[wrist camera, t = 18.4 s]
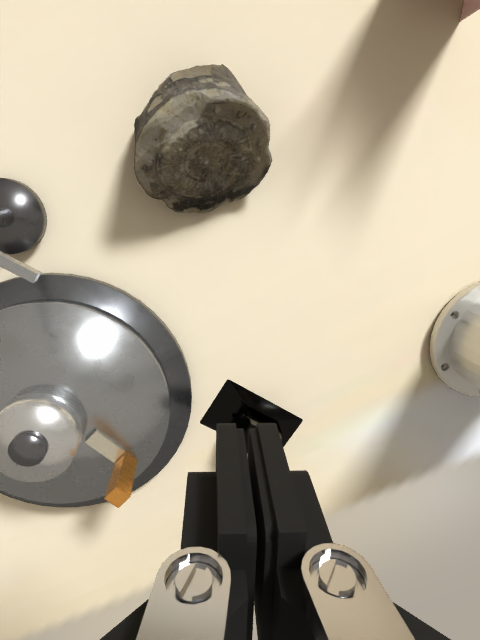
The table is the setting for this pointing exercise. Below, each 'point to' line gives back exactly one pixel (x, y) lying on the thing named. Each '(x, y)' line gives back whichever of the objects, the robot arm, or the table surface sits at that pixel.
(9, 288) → the base
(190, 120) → the fossil
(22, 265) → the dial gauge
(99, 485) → the platter
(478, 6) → the greeting card
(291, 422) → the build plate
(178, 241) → the table surface
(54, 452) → the cover
